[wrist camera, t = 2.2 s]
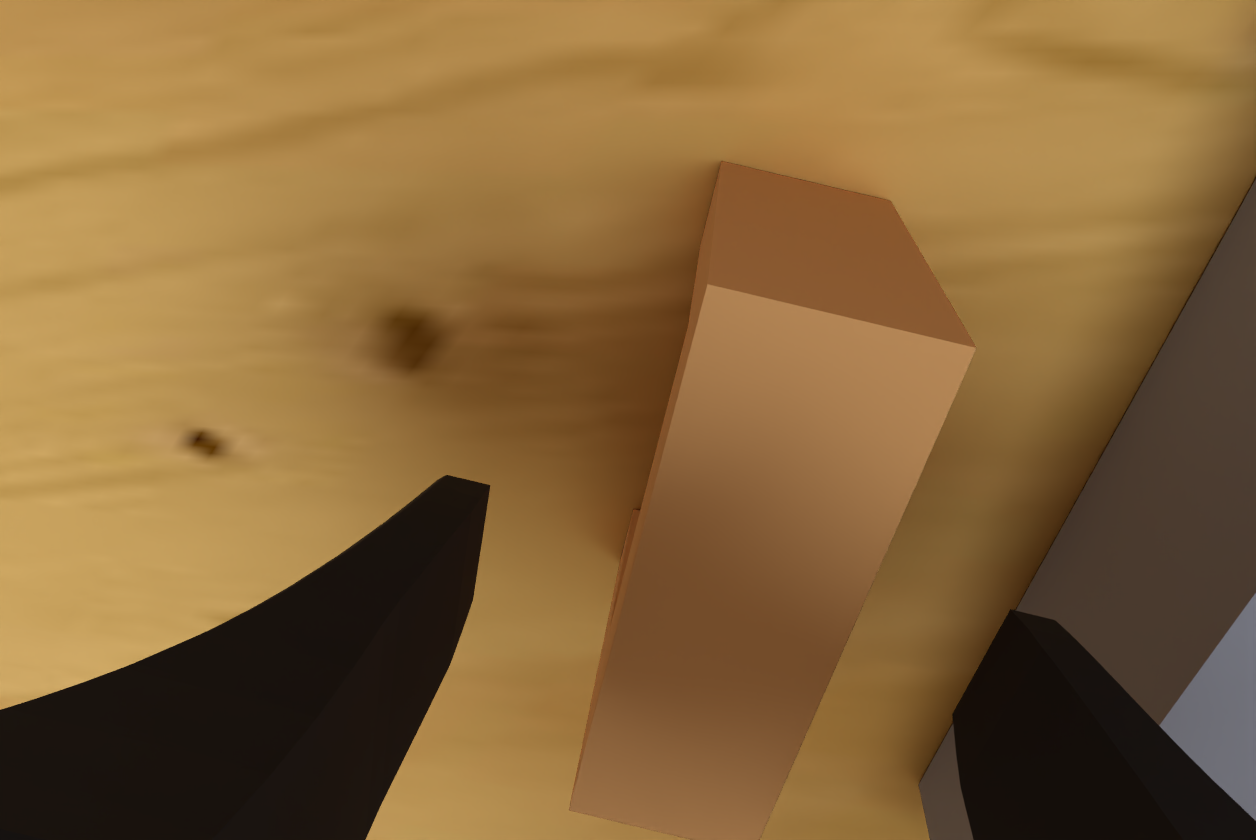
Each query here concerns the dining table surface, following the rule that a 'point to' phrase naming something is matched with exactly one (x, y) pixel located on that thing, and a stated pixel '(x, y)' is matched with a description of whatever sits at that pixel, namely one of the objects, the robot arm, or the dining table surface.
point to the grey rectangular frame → (1167, 543)
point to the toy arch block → (765, 501)
